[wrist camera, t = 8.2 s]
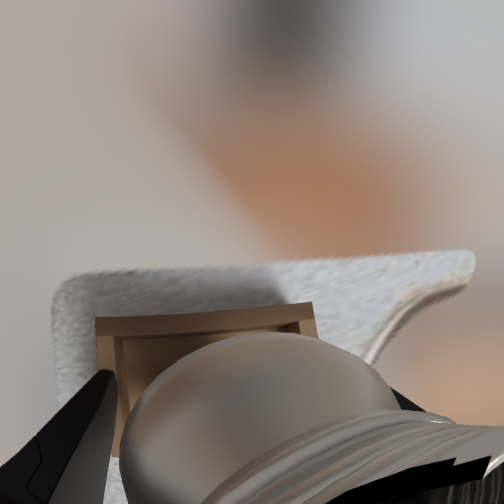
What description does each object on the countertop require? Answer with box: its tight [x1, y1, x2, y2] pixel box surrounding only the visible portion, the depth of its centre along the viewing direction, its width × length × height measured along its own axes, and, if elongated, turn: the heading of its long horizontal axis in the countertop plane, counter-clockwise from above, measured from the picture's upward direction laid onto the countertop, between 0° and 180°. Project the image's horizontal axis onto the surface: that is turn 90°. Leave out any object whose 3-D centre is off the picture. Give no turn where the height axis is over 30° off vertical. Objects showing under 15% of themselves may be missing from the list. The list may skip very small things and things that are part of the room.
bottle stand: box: [95, 302, 318, 457], centre depth 18 cm, size 9×14×4 cm, turn 98°
